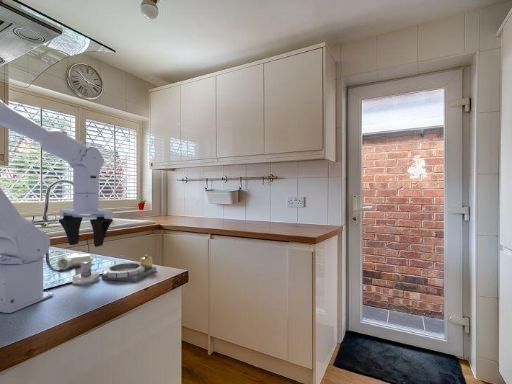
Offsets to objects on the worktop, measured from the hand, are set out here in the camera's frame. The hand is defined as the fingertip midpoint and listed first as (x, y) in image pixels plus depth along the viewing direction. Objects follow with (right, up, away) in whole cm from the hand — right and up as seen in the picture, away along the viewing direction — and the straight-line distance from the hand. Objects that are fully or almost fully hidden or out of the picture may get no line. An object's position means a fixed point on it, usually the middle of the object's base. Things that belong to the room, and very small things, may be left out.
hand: (86, 245), depth 73 cm
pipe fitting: (-11, -9, +14) cm, 20 cm away
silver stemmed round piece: (0, -10, 0) cm, 10 cm away
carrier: (+9, -9, +5) cm, 14 cm away
